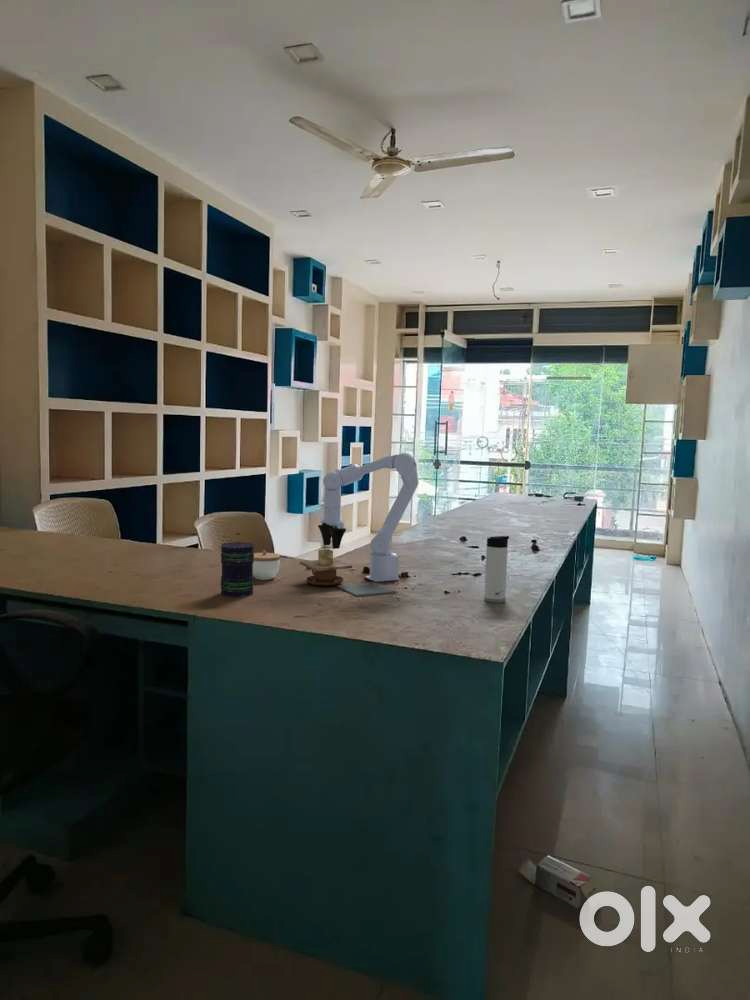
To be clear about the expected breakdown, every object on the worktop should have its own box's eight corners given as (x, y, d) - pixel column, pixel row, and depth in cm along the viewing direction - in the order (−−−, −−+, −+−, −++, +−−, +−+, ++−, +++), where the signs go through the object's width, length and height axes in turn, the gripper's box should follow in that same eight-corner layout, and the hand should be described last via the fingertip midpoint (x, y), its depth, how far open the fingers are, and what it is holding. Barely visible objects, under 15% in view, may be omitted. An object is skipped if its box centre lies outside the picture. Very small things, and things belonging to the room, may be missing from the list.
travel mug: (501, 604, 203) (504, 537, 201) (480, 600, 207) (483, 535, 205) (509, 600, 208) (512, 535, 207) (489, 597, 212) (491, 533, 210)
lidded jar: (273, 582, 225) (274, 554, 224) (242, 580, 227) (243, 552, 226) (284, 575, 235) (284, 548, 235) (254, 573, 238) (255, 547, 237)
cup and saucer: (300, 586, 221) (300, 567, 221) (316, 579, 232) (316, 561, 232) (334, 590, 217) (334, 570, 216) (349, 582, 228) (349, 564, 228)
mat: (375, 583, 226) (375, 582, 226) (396, 592, 214) (396, 591, 214) (337, 587, 220) (337, 585, 220) (356, 596, 208) (356, 594, 208)
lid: (334, 561, 233) (335, 546, 232) (352, 568, 222) (352, 552, 221) (299, 563, 227) (299, 548, 226) (315, 571, 215) (315, 554, 215)
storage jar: (253, 597, 203) (254, 537, 202) (219, 597, 202) (220, 537, 200) (253, 589, 213) (254, 532, 212) (221, 590, 212) (221, 532, 210)
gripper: (313, 505, 239) (312, 544, 240) (330, 510, 226) (329, 550, 227) (331, 505, 242) (330, 543, 243) (349, 509, 229) (348, 549, 230)
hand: (331, 546), depth 235 cm, fingers open, 7 cm apart
